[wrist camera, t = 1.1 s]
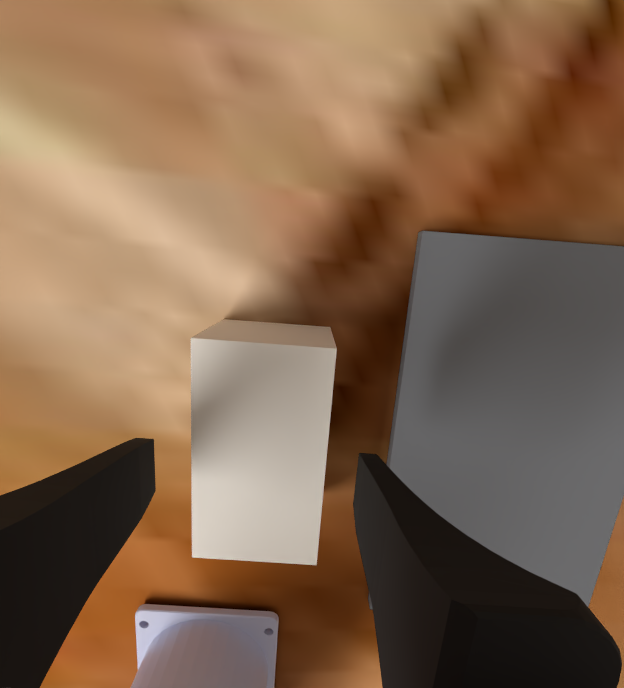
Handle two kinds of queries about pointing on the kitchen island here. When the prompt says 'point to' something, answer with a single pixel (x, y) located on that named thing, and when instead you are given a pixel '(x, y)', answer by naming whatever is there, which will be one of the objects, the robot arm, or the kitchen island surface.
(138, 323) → the kitchen island surface
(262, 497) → the block
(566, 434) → the mat
